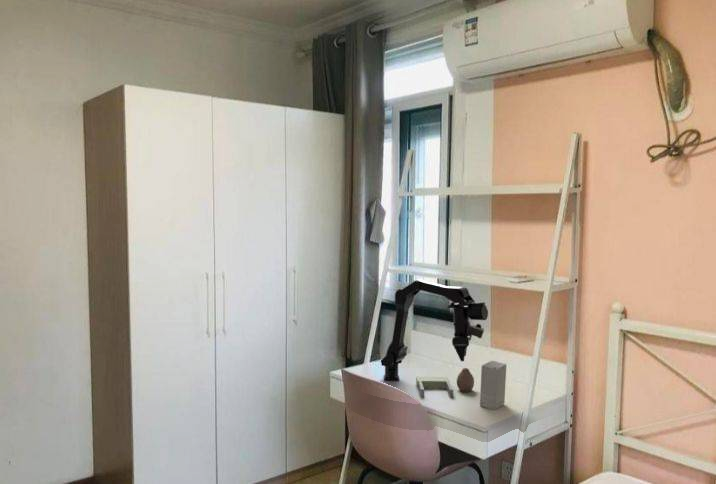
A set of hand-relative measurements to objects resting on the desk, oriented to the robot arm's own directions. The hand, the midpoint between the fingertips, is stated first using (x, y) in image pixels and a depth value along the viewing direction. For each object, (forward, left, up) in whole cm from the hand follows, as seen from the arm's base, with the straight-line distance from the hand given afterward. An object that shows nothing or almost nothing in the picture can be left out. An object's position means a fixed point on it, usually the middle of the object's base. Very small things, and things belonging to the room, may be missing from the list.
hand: (463, 358), depth 225 cm
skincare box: (+14, +9, -14) cm, 22 cm away
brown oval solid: (-4, +2, -14) cm, 15 cm away
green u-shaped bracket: (-3, -11, -14) cm, 18 cm away
